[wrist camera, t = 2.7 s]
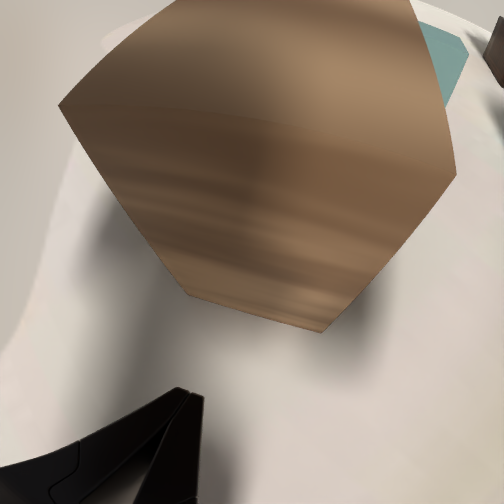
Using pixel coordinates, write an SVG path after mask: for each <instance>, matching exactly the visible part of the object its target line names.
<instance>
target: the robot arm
mask: <svg viewBox="0 0 504 504" xmlns="http://www.w3.org/2000/svg"><path fill="white" fill-rule="evenodd" d="M203 411H204V396H202V395H199V394H196V393H193V392H192V393H190V391H188V390H185V389H183V388H180V387H175V388H174V389H172V390H170V391H168V392H167V393H165V394H163V395H162V396H160V397H158V398H156V399H155V400H153V401H151V402H149V403H148V404H146V405H144V406H142V407H141V408H139V409H137V410H135V411H133V412H132V413H130V414H128V415H126V416H124V417H122V418H121V419H119V420H117V421H115V422H113V423H111V424H109V425H108V426H106V427H104V428H102V429H100V430H98V431H96V432H94V433H92V434H90V435H88V436H86V437H84V438H82V439H80V441H76V442H74V443H72V444H70V445H68V446H65V447H63V448H61V449H59V450H56V451H54V452H51V453H48V454H46V455H43V456H40V457H37V458H33V459H30V460H26V461H23V462H19V463H16V464H12V465H8V466H4V467H0V504H198V489H199V471H200V454H201V439H202V425H203Z"/></svg>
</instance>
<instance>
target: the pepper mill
mask: <svg viewBox="0 0 504 504" xmlns="http://www.w3.org/2000/svg"><path fill="white" fill-rule="evenodd" d="M483 57H484V59H485V61H486V62H487V64H488V66H489V67H490V69H491V71H492V73H493V74H494V76H495V78H496V79H497V81H498V83H499V84H500V86H501V87H502V88H504V18H503V17H501V16H499V18H498V21H497V23H496V26H495V29H494V31H493V33H492V36H491V38H490V41H489V43H488V45H487V48H486V50H485V52H484V54H483Z"/></svg>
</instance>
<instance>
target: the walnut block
mask: <svg viewBox="0 0 504 504" xmlns="http://www.w3.org/2000/svg"><path fill="white" fill-rule="evenodd" d="M58 106H59V108H60V110H61V112H62V113H63V115H64V117H65V118H66V120H67V122H68V124H69V125H70V127H71V129H72V130H73V132H74V134H75V135H76V137H77V138H78V140H79V142H80V143H81V145H82V146H83V148H84V150H85V151H86V153H87V154H88V156H89V158H90V159H91V161H92V162H93V164H94V165H95V167H96V168H97V170H98V171H99V173H100V175H101V176H102V178H103V179H104V181H105V182H106V184H107V185H108V187H109V188H110V190H111V191H112V192H113V194H114V195H115V197H116V198H117V200H118V201H119V203H120V204H121V206H122V207H123V208H124V210H125V211H126V213H127V214H128V216H129V217H130V218H131V220H132V221H133V223H134V224H135V225H136V227H137V228H138V230H139V231H140V232H141V234H142V235H143V237H144V238H145V239H146V241H147V242H148V243H149V245H150V246H151V247H152V249H153V250H154V252H155V253H156V254H157V256H158V257H159V258H160V260H161V261H162V262H163V263H164V265H165V266H166V267H167V269H168V270H169V271H170V273H171V274H172V275H173V277H174V278H175V279H176V280H177V282H178V283H179V284H180V286H181V287H182V288H183V289H184V291H185V292H186V293H187V294H188V295H191V296H194V297H197V298H200V299H203V300H206V301H209V302H213V303H216V304H219V305H222V306H226V307H229V308H232V309H236V310H239V311H242V312H246V313H249V314H253V315H256V316H260V317H263V318H267V319H270V320H274V321H277V322H281V323H284V324H288V325H292V326H295V327H299V328H303V329H307V330H311V331H314V332H318V333H322V332H323V331H324V330H325V329H326V328H327V327H328V326H329V325H330V324H331V323H332V322H333V321H334V320H335V319H336V318H337V317H338V316H339V315H340V314H341V313H342V312H343V311H344V310H345V309H346V308H347V307H348V306H349V304H350V303H351V302H352V301H353V300H354V299H355V298H356V297H357V296H358V295H359V294H360V293H361V292H362V291H363V290H364V288H365V287H366V286H367V285H368V284H369V283H370V282H371V281H372V280H373V279H374V277H375V276H376V275H377V274H378V273H379V272H380V271H381V270H382V268H383V267H384V266H385V265H386V264H387V263H388V261H389V260H390V259H391V258H392V257H393V256H394V255H395V253H396V252H397V251H398V250H399V249H400V247H401V246H402V245H403V244H404V243H405V241H406V240H407V239H408V238H409V237H410V235H411V234H412V233H413V232H414V230H415V229H416V228H417V227H418V225H419V224H420V223H421V222H422V220H423V219H424V218H425V217H426V215H427V214H428V213H429V211H430V210H431V209H432V208H433V206H434V205H435V204H436V202H437V201H438V200H439V198H440V197H441V196H442V194H443V193H444V192H445V190H446V189H447V187H448V186H449V185H450V183H451V182H452V181H453V179H454V178H455V176H456V175H457V174H456V166H455V159H454V152H453V146H452V141H451V135H450V130H449V125H448V120H447V115H446V111H445V106H444V102H443V98H442V94H441V90H440V86H439V83H438V79H437V76H436V72H435V69H434V66H433V62H432V59H431V56H430V53H429V50H428V47H427V44H426V41H425V39H424V36H423V33H422V30H421V28H420V25H419V23H418V20H417V18H416V15H415V13H414V10H413V8H412V6H411V3H410V1H409V0H176V1H175V2H173V3H171V4H170V5H169V6H167V7H166V8H164V9H163V10H162V11H160V12H159V13H157V14H156V15H155V16H153V17H152V18H151V19H149V20H148V21H147V22H145V23H144V24H143V25H142V26H140V27H139V28H138V29H137V30H135V31H134V32H133V33H132V34H130V35H129V36H128V37H127V38H126V39H124V40H123V41H122V42H121V43H120V44H119V45H117V46H116V47H115V48H114V49H113V50H112V51H111V52H110V53H108V54H107V55H106V56H105V57H104V58H103V59H102V60H101V61H100V62H99V63H98V64H97V65H96V66H95V67H94V68H93V69H92V70H91V71H90V72H89V73H88V74H87V75H86V76H85V77H84V78H83V79H82V80H81V81H80V82H79V83H78V84H77V85H76V86H75V87H74V88H73V89H72V90H71V91H70V92H69V93H68V95H67V96H66V97H65V98H64V99H63V100H62V101H61V102H60V104H59V105H58Z"/></svg>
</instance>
